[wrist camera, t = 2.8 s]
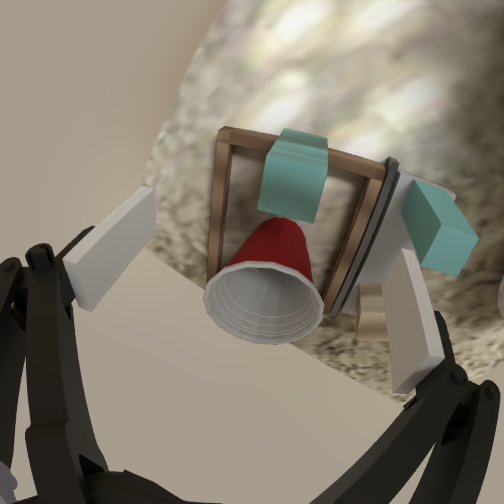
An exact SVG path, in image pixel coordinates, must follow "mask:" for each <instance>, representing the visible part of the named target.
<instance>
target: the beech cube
mask: <svg viewBox="0 0 504 504" xmlns="http://www.w3.org/2000/svg"><path fill="white" fill-rule="evenodd" d="M382 285H383V283H366V282H359V289H358V296H357V302H356V308H355V334H356V340H359V341H389V339H388V331H387V322H386V315H385V308H384V301H383V294H382V288H381V287H382Z"/></svg>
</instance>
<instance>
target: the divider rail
mask: <svg viewBox="0 0 504 504" xmlns="http://www.w3.org/2000/svg"><path fill="white" fill-rule="evenodd" d="M398 166H399V162H398V161H397V159H395V158H392V157H389V159H388V162H387V165H386V168H385V169H386V173H385V176H384V179H383V181H382V184H381V187H380V190H379V193H378V196H377V198H376V201H375V204H374V207H373V209H372V212H371V215H370V217H369V220H368V222H367V225H366V228H365V230H364V233H363V235H362V238H361V240H360V243H359V245H358V247H357V250H356V252H355V255H354V257H353V259H352V262H351V264H350V266H349V269H348V271H347V273H346V276H345V278H344V280H343V282H342V285H341V287H340V289H339V291H338V293H337V296H336V298H335V300H334V302H333V304H332V306H331V308H330V311H329V315H330V316H334V317H335V315H336V313H337V311H338V309H339V307H340V305H341V303H342V301H343V299H344V297H345V295H346V293H347V291H348V289H349V287H350V285H351V283H352V280H353V278H354V276H355V274H356V272H357V270H358V267H359V265H360V263H361V261H362V258H363V256H364V254H365V252H366V249H367V247H368V245H369V242H370V240H371V237H372V235H373V233H374V230H375V228H376V225H377V223H378V220H379V218H380V215H381V213H382V210H383V208H384V205H385V202H386V200H387V197H388V194H389V192H390V189H391V186H392V183H393V181H394V178H395V175H396V172H397V169H398Z"/></svg>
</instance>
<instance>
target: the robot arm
mask: <svg viewBox="0 0 504 504" xmlns="http://www.w3.org/2000/svg"><path fill="white" fill-rule="evenodd" d="M155 233H156V210H155V188H150V187H145V186H142V187H141V188H140V189H139V190H137V191H136V192H135V193H134V194H133V195H131V196H130V197H129V198H128V199H127V200H126V201H124V202H123V203H122V204H121V205H120V206H118V207H117V208H116V209H115V210H114V211H113V212H111V213H110V214H109V215H108V216H107V217H106V218H105V219H104V220H102V221H101V222H100V223H99V224H98V225H97V226H91V227H89V228H87V229H85V230H83V231H82V232H81V233H80V234H79V235H78V236H77V237H76V238H75V239H73V240H72V241H71V243H69V244H68V245H67V246H66V247H65V248H64V249H63V250H62V251H61V252H60V253H59V254H58V255H57V256H56V257H55V256H54V253H53V250H52V247H51V246H50V245H49V244H46V243H43V244H37V245H35V246H33V247H32V248H30V249H29V250H28V251H27V253H26V255H25V258H26V261H27V263H28V266H29V267H22V264H21V262H20V259H18V258H16V257H12V258H8V259H6V260H4V261H3V262H2V263H1V264H0V504H221V503H201V502H200V503H199V502H188V501H184V500H182V499H180V498H178V497H177V496H175V495H173V494H172V493H170V492H169V491H167V490H165V489H164V488H162V487H161V486H159V485H158V484H156V483H155V482H153V481H150V480H148V479H145V478H143V477H140V476H138V475H136V474H134V473H131V472H129V471H127V470H124V471H123V472H115V471H109V470H108V466H107V464H106V461H105V458H104V456H103V454H102V452H101V451H100V449H99V447H98V445H97V443H96V439H95V435H94V432H93V428H92V424H91V420H90V416H89V412H88V408H87V403H86V398H85V393H84V388H83V384H82V378H81V372H80V367H79V360H78V353H77V345H76V336H75V327H74V316H73V307H72V304H71V302H72V301H73V300H74V299H75V298H76V300H77V303H78V306H79V307H81V308H83V309H85V310H88V311H90V312H92V311H93V310H94V308H95V307H96V306H97V304H98V303H99V302H100V300H101V299H102V298H103V296H104V295H105V294H106V293H107V291H108V290H109V289H110V287H111V286H112V285H113V283H114V282H115V281H116V280H117V278H118V277H119V276H120V275H121V273H122V272H123V271H124V270H125V268H126V267H127V266H128V265H129V263H130V262H131V261H132V260H133V258H134V257H135V256H136V255H137V254H138V252H139V251H140V250H141V249H142V248H143V247H144V245H145V244H146V243H147V242H148V241H149V240H150V238H151V237H152V236H153V235H154V234H155ZM381 288H382V294H383V301H384V308H385V315H386V322H387V331H388V339H389V349H390V360H391V372H392V388H393V393H400V394H408V393H410V392H411V391H412V390H413V389H414V388H415V389H416V395H415V396H414V397H413V398H412V399H411V400H410V401H408V402H407V403H406V404H405V405H404V406H403V407H404V409H403V411H402V412H401V413H400V414H399V416H398V417H397V418H396V419H395V420H394V422H393V423H392V424H391V425H390V426H389V428H388V429H387V430H386V431H385V432H384V433H383V434H382V436H381V437H380V438H379V439H378V440H377V441H376V442H375V443H374V444H373V445H372V446H371V448H370V449H369V450H368V451H367V452H366V453H365V454H364V455H363V456H362V457H361V458H360V459H359V460H358V461H357V462H356V463H355V464H354V465H353V466H352V467H351V468H350V469H348V470H347V471H346V472H345V473H344V474H343V475H342V476H341V477H340V478H339V479H338V480H337V481H335V482H334V483H333V484H332V485H331V486H330V487H329V488H328V489H326V490H325V491H324V492H323V493H322V494H320V495H319V496H318V497H317V498H316V499H314V500H313V501H312V502H311V503H310V504H389V503H390V502H391V501H392V499H393V498H394V497H395V496H396V495H397V494H398V492H399V491H400V490H401V489H402V487H403V486H404V485H405V484H406V482H407V481H408V480H409V479H410V477H411V476H412V475H413V474H414V472H415V471H416V469H417V468H418V467H419V465H420V464H421V462H422V461H423V460H424V458H425V457H426V456H427V454H428V453H429V451H430V450H431V448H432V446H433V445H434V444H435V445H434V448H433V451H432V453H431V456H430V458H429V461H428V463H427V466H426V468H425V470H424V473H423V475H422V477H421V479H420V482H419V484H418V486H417V488H416V490H415V492H414V494H413V496H412V498H411V500H410V502H409V504H476V502H477V498H478V496H479V493H480V490H481V487H482V484H483V480H484V477H485V474H486V470H487V466H488V462H489V459H490V455H491V450H492V446H493V441H494V436H495V431H496V425H497V420H498V413H499V406H500V391H499V388H498V387H497V385H496V384H495V383H494V382H493V381H491V380H485V381H484V382H483V383H482V384H481V385H477V384H475V383H473V382H471V381H469V380H468V376H467V374H466V372H465V370H464V369H463V368H462V367H461V366H459V365H458V364H456V362H455V358H454V353H453V349H452V345H451V341H450V339H449V334H448V331H447V327H446V323H445V320H444V318H443V317H442V315H441V314H440V312H439V311H434V310H433V308H432V305H431V301H430V298H429V295H428V291H427V288H426V285H425V282H424V279H423V276H422V273H421V270H420V267H419V264H418V261H417V259H416V256H415V253H414V251H411V250H407V249H404V248H401V250H400V252H399V254H398V256H397V258H396V260H395V262H394V264H393V266H392V268H391V270H390V272H389V274H388V276H387V278H386V279H385V281H384V283H383V285H382V287H381ZM12 303H13V305H12ZM11 306H12V308H11ZM25 356H26V377H27V392H28V403H29V412H30V420H31V425H30V427H29V428H27V429H26V432H25V440H26V446H27V452H28V457H29V462H30V467H31V471H32V475H33V479H34V483H35V486H36V490H37V494H38V495H36V496H33V497H30V498H27V499H24V500H21V501H17V500H16V498H15V496H14V492H13V490H15V489H16V488H17V481H16V479H15V477H14V476H12V474H11V471H10V468H11V464H12V458H13V450H14V436H15V424H16V412H17V404H18V397H19V390H20V383H21V377H22V372H23V366H24V361H25ZM435 442H436V443H435Z"/></svg>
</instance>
